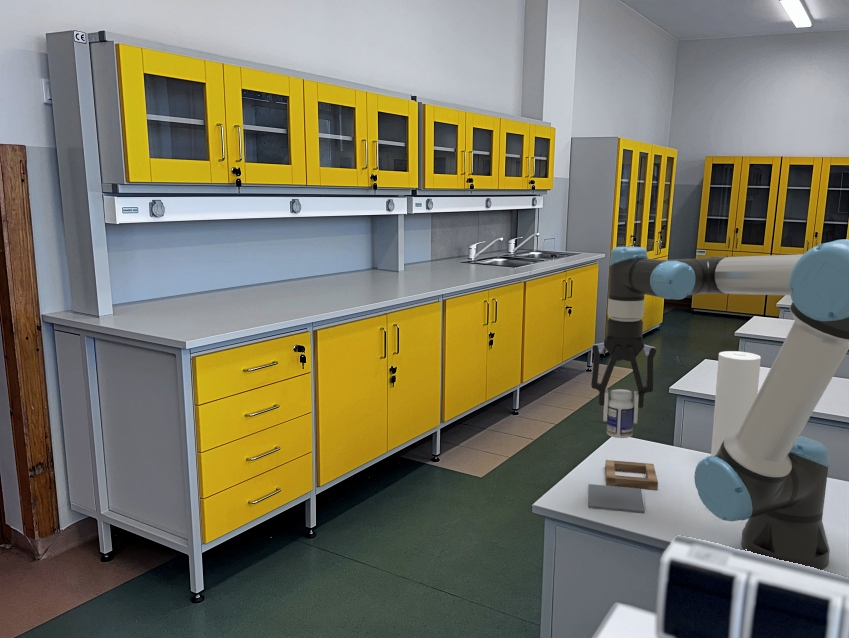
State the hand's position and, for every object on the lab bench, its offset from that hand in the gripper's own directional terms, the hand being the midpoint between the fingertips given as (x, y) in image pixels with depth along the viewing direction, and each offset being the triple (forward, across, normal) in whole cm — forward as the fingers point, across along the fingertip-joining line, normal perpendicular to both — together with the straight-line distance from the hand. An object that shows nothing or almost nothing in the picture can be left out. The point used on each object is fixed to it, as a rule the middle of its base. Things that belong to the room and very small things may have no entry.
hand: (620, 420), depth 155 cm
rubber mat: (+19, 0, 0) cm, 19 cm away
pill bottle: (+4, 0, 0) cm, 4 cm away
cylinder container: (+19, -29, -25) cm, 43 cm away
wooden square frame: (+19, -4, -13) cm, 23 cm away
